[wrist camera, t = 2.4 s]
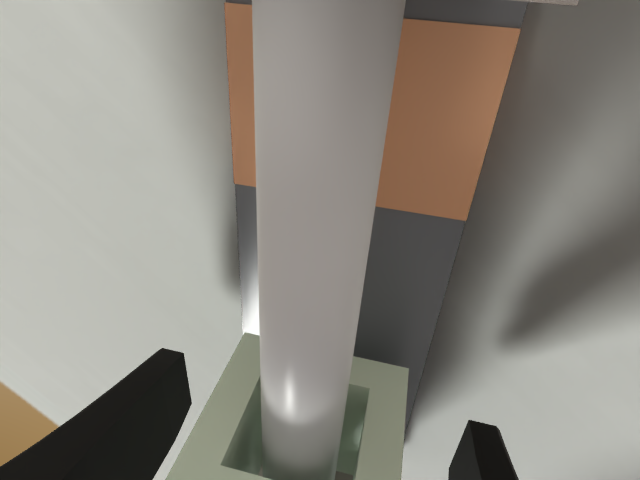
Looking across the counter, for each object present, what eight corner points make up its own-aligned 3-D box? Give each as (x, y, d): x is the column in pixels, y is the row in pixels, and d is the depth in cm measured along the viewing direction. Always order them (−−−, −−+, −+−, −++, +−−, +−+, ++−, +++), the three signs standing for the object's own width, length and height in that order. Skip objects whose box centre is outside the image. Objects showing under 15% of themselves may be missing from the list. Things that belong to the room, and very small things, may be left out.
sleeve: (386, 454, 12) (366, 644, 8) (248, 419, 12) (179, 583, 9) (408, 368, 10) (394, 569, 6) (244, 332, 10) (155, 498, 7)
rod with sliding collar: (393, 453, 15) (375, 664, 10) (258, 419, 16) (185, 600, 11) (563, -168, 6) (912, -568, 2) (241, -174, 7) (-122, -455, 2)
